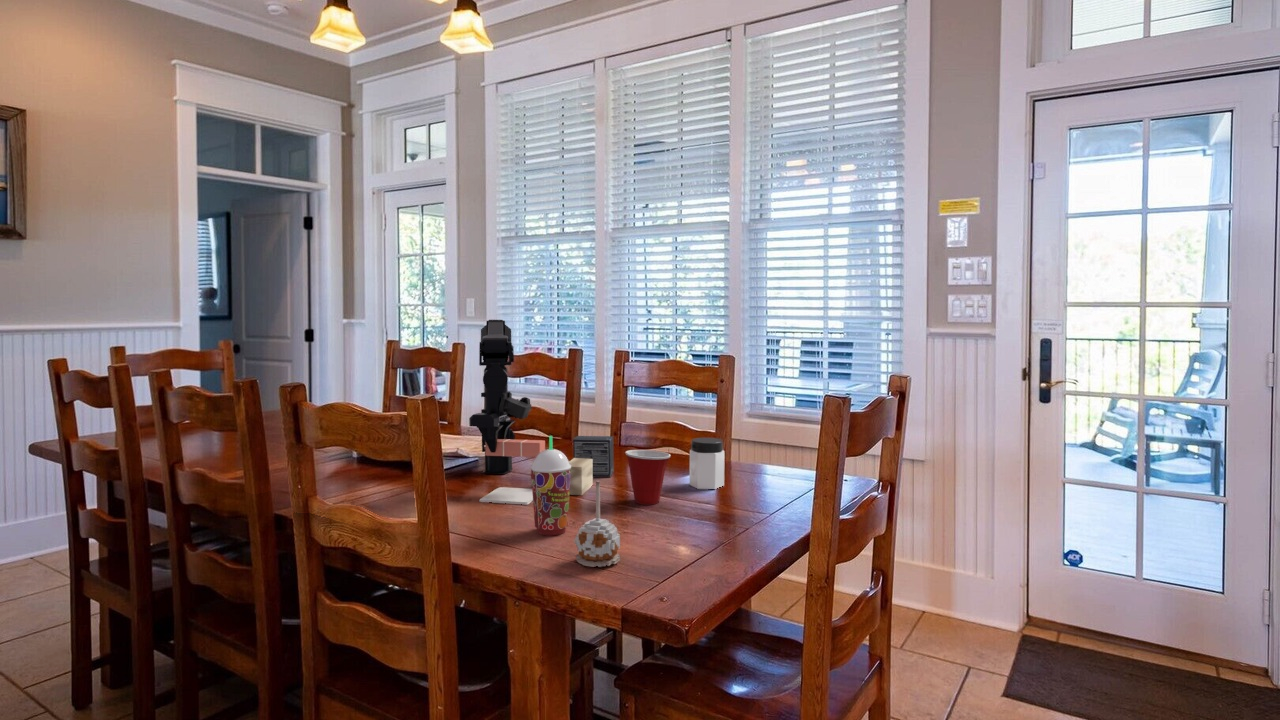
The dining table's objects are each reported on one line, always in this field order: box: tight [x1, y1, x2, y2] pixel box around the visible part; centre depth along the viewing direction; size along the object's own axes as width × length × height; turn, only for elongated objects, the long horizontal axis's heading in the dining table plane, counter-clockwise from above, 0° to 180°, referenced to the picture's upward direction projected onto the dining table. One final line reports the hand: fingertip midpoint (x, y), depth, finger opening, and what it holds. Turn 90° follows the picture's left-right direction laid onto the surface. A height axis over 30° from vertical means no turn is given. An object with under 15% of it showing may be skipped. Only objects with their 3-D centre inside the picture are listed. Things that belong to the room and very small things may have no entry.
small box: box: [572, 435, 614, 478], centre depth 201 cm, size 11×6×10 cm, turn 84°
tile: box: [479, 486, 533, 506], centre depth 177 cm, size 12×12×1 cm
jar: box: [688, 437, 725, 490], centre depth 188 cm, size 9×8×12 cm
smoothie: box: [529, 435, 571, 537], centre depth 150 cm, size 8×8×20 cm
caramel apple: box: [574, 480, 621, 568], centre depth 132 cm, size 8×8×15 cm
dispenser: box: [568, 458, 594, 496], centre depth 185 cm, size 11×10×7 cm
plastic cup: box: [625, 449, 671, 506], centre depth 173 cm, size 11×11×12 cm
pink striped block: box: [484, 439, 546, 458], centre depth 179 cm, size 14×4×4 cm, turn 78°
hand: (496, 450), depth 180 cm, fingers closed on pink striped block, 4 cm apart
